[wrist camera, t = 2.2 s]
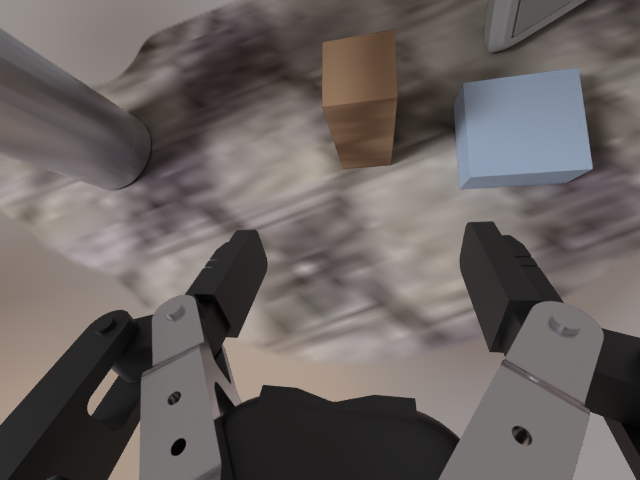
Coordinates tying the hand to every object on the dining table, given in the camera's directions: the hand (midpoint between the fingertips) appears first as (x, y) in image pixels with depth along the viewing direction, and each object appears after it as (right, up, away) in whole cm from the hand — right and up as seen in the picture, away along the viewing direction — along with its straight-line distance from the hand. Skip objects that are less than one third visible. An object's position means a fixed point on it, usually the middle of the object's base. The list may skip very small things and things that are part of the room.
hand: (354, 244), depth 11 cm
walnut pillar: (+3, +9, +16) cm, 19 cm away
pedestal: (+15, +9, +13) cm, 22 cm away
